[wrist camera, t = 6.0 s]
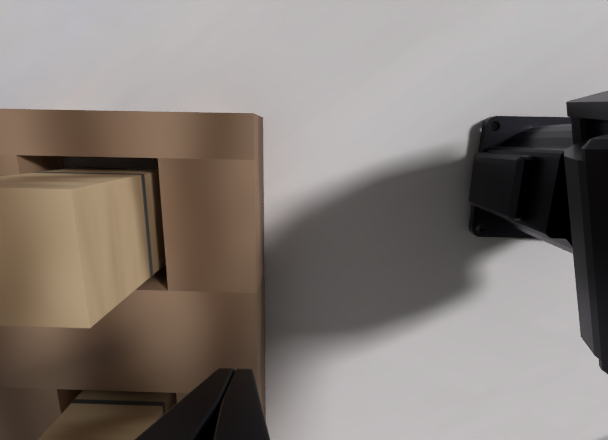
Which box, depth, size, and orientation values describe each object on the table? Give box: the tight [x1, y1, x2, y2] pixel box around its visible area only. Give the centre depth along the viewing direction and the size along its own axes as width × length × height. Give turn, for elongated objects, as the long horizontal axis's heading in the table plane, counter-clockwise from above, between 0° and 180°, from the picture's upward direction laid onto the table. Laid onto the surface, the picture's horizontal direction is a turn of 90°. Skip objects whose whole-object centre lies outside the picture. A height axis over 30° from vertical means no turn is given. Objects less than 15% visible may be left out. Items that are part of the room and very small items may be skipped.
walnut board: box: [0, 109, 266, 440], centre depth 17 cm, size 16×24×8 cm, turn 179°
